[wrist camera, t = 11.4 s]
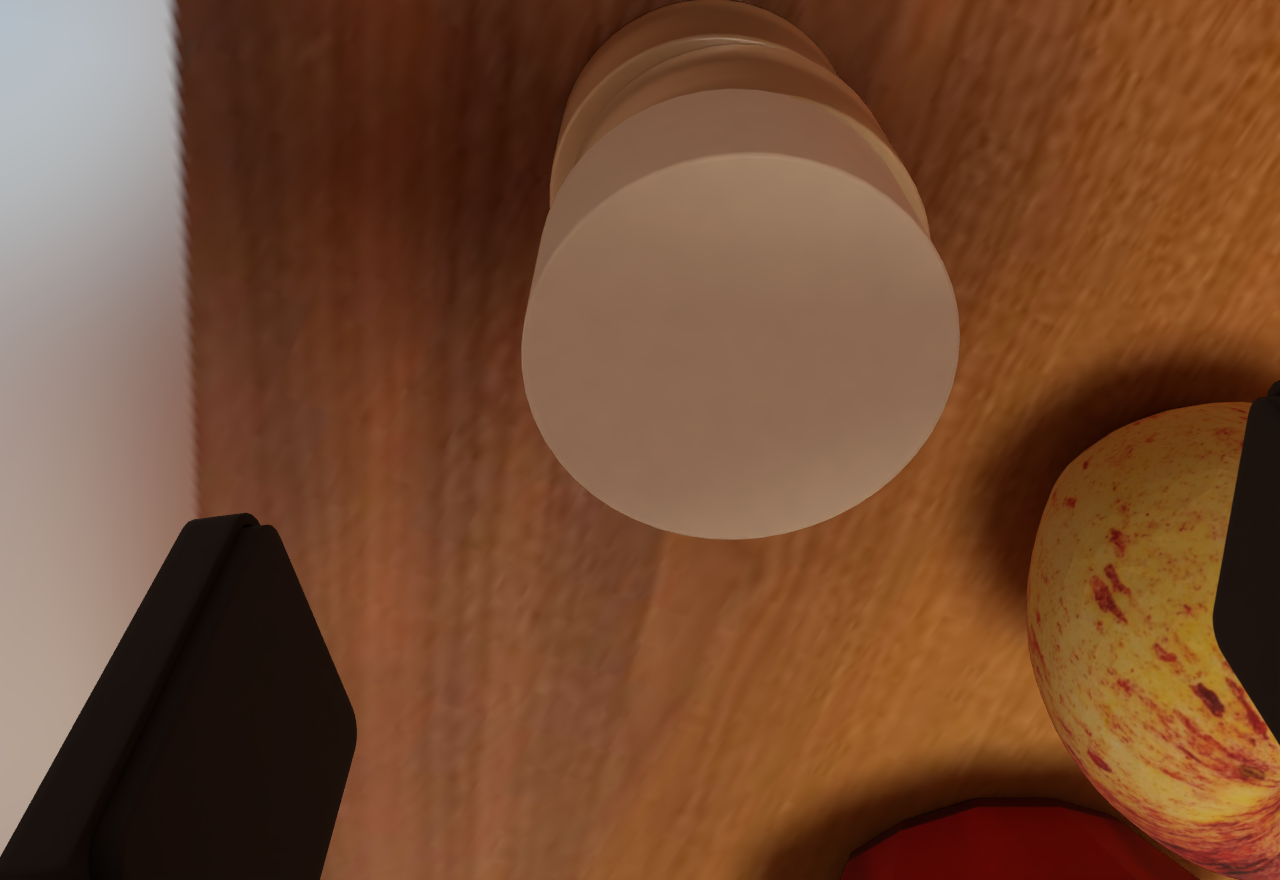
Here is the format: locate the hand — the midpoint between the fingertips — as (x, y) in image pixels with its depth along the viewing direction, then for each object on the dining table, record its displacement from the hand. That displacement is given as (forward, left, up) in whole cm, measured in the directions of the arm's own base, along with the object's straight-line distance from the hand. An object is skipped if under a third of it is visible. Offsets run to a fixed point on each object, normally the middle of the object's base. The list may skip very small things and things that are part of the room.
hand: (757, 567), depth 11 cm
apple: (+10, -10, -14) cm, 20 cm away
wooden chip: (0, 0, -8) cm, 8 cm away
